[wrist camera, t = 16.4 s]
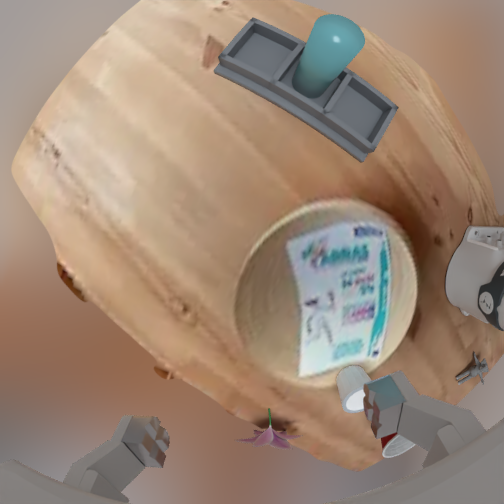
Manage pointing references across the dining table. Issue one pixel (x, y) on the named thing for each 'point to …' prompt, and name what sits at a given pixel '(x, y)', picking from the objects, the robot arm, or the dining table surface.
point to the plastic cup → (395, 445)
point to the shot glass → (352, 388)
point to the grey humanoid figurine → (474, 371)
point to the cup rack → (306, 109)
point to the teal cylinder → (326, 54)
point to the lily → (270, 438)
